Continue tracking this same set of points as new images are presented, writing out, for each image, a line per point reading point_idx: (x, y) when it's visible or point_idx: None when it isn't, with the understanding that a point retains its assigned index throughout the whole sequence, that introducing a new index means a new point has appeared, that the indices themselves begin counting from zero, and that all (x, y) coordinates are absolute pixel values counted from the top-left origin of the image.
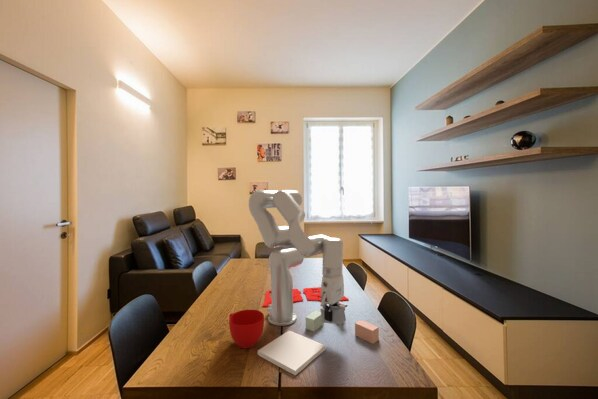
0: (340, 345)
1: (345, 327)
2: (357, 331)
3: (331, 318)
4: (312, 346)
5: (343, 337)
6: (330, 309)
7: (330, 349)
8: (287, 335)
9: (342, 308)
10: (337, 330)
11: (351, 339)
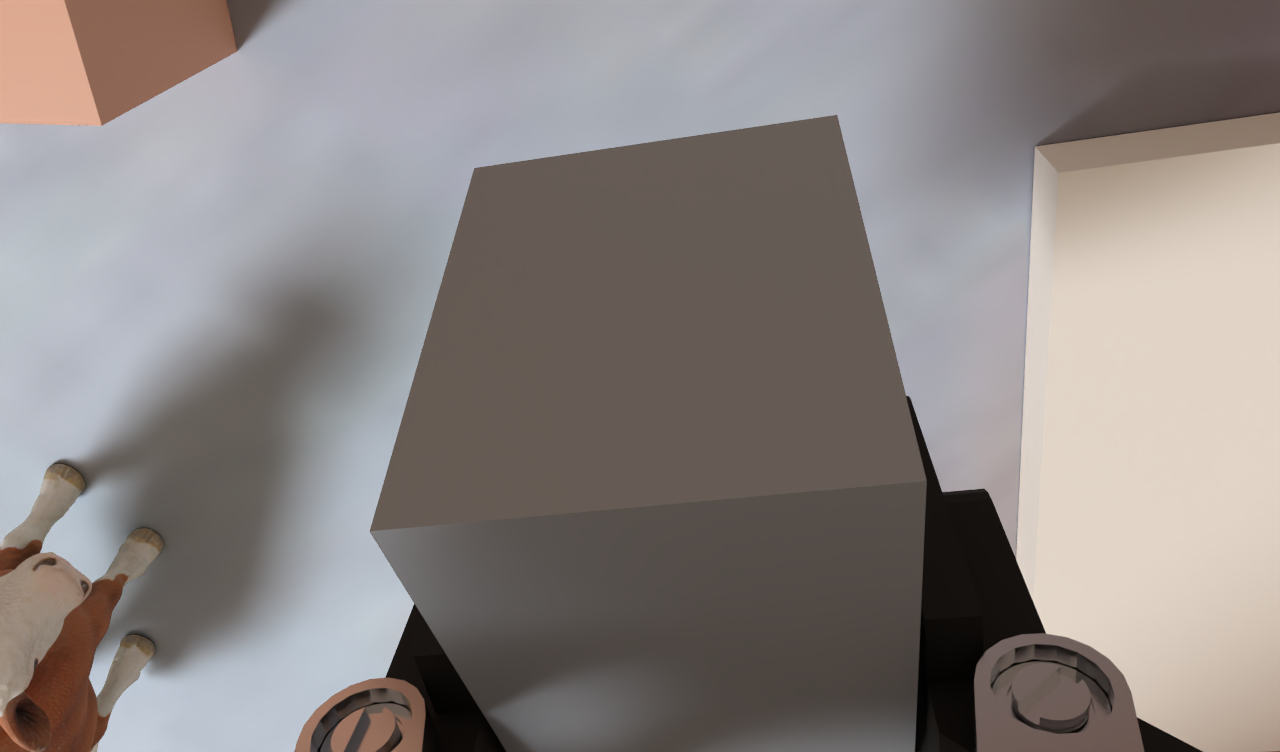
0: (731, 30)
1: (214, 329)
2: (174, 7)
3: (926, 450)
4: (1230, 305)
5: (478, 160)
6: (1061, 715)
7: (970, 80)
8: (1161, 710)
9: (490, 472)
10: (400, 362)
11: (405, 7)
